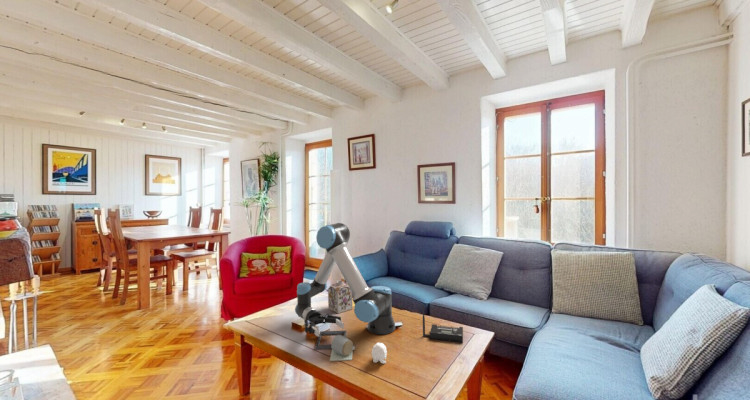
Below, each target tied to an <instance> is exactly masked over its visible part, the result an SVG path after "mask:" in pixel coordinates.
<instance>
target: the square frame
mask: <svg viewBox="0 0 750 400" xmlns="http://www.w3.org/2000/svg"><path fill="white" fill-rule="evenodd" d="M347 334H348V333H347V330H326V331H325V330H323V331H320V330H319V337H318V336H317V337H318V338H317V341H316V344H315V350H330V349H331V350H332V348H331V344H320V343H321V340H322V336H328V335H329V336H331V335H332V336H333V335H335V336H336V335H343V336H344V337H345V338H347Z"/></svg>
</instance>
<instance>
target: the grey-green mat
mask: <svg viewBox="0 0 750 400" xmlns="http://www.w3.org/2000/svg"><path fill="white" fill-rule="evenodd" d="M353 351H354V350H352V352H351V353H350V354H349V355H348V356H343V355H341V354H339V353H336V352H334V351H333V350H332V349H331V353H330V358H329V362H333V361H335V362H337V361H338V362H339V361H352V360H353Z"/></svg>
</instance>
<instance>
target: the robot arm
mask: <svg viewBox="0 0 750 400" xmlns="http://www.w3.org/2000/svg"><path fill="white" fill-rule="evenodd" d="M350 236H351V231H350V229H349V227H348V226H347V225H346V224H344V223H342V222H338V223H333V224H327V225H324V226H322V227H319V230H317V233H316V243H317V245H318V247H320V248H321V249H325V251H326V253H325V255H324V258H323V259H322V262H321V264H320V266H319V268H318V271H317V272H316V274H315V276H314V278H313V281H312V282H311V283H309V282H299V283H298V284H297V286H296V289H297V290H296V296H297V297H296V298H297V300H296V301H297V304H296V305H295V308H294V312H295V314H296V315H297V316H298V317H300V318H301V319H302V320H304V333H309V334H314V336H316V337H319V334H320V330H319V329H318V328H316V326H317V325H320V324H335V325H337V326H338V327H339V328H341V329H342V330H343V329H345V327H344V325H345V324H344V321H342V317H341V316H338V315H333V314H328V313H325V315H322V314H321V313H320V311H318V310H316V309H315V308H313V307H312V298H313V297H315V296H317V295H319V294H321V293H323V292H324V291H326V290H327V289H328V288H327V287H328V286H327V282H328V280H329V278H330V276H331V274H332V271H333V270H334V269H335V265H337V268H338V269H339V271H340V273H341V274H342V277H343V278H344V280H345V283H347V284H348V286H349V288H350V290H351V292H352V303H353V304H354V306H353V307H354V309H353V311H354V314H355V315H354V316H355V317H356V318H357V319H358V320H359V321H361V322H362V323H367V330H368V332H369V333H371V334H374V335H388V334H391V333H393V332H395V330H396V322H395V320H394V317H393V313H392V311H393V310H392V308H393V306H392V305H393V304H392V303H393V302H392V301H393V300H392V294H393V293H392V288H390V287H389V286H384V285H376V286H375V285H374V286H371V287H370V286H368V284H367V282H366V280H365V279H364V277H363V275H362V273H361V272H360V269H359V268H358V266H357V264H356V262H355V260H354V258H353V256H352V255H351V253H350V251H349V249H348V248H347V245H348V243H349V241H350V238H351V237H350Z"/></svg>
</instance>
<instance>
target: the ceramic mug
mask: <svg viewBox="0 0 750 400" xmlns="http://www.w3.org/2000/svg"><path fill="white" fill-rule="evenodd" d="M330 345H331V348H332V349H331V351H332V350H333V351H334V352H336V353H339V354H341V355H343V356H348V355H349V354H350V353H351V352H352V350H353V351H354V350H355V349H356V345H354V342H353V341H352V340H350V338H347V337H346V338H345V337H344V335H343V334H336V335H335V336H334V337H333V339H332V341H331V343H330Z"/></svg>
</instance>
